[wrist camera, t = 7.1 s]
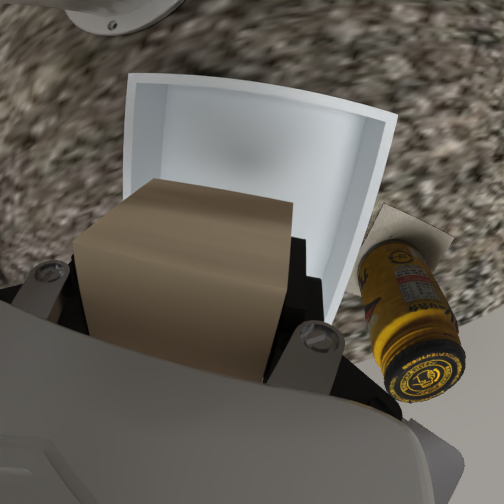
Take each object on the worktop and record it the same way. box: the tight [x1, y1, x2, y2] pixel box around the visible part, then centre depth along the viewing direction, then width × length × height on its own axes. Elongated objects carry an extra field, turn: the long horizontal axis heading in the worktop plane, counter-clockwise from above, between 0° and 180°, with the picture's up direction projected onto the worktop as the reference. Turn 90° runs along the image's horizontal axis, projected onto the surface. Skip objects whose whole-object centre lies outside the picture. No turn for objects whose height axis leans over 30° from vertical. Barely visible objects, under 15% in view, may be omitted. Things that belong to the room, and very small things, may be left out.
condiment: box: [345, 204, 466, 403], centre depth 20 cm, size 7×8×12 cm
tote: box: [123, 73, 398, 325], centre depth 23 cm, size 21×15×6 cm
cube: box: [72, 178, 293, 383], centre depth 10 cm, size 5×5×5 cm
